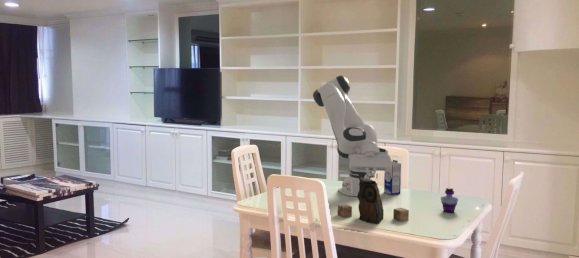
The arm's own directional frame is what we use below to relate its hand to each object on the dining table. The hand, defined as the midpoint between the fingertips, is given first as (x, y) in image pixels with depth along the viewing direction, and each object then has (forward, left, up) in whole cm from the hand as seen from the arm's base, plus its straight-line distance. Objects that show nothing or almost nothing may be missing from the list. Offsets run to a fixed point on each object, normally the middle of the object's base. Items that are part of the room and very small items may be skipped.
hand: (371, 176), depth 217 cm
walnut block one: (-11, -7, -21) cm, 25 cm away
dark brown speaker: (+1, +1, -21) cm, 21 cm away
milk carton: (-36, +45, -21) cm, 61 cm away
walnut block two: (+7, +13, -21) cm, 25 cm away
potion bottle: (+8, +44, -21) cm, 49 cm away
